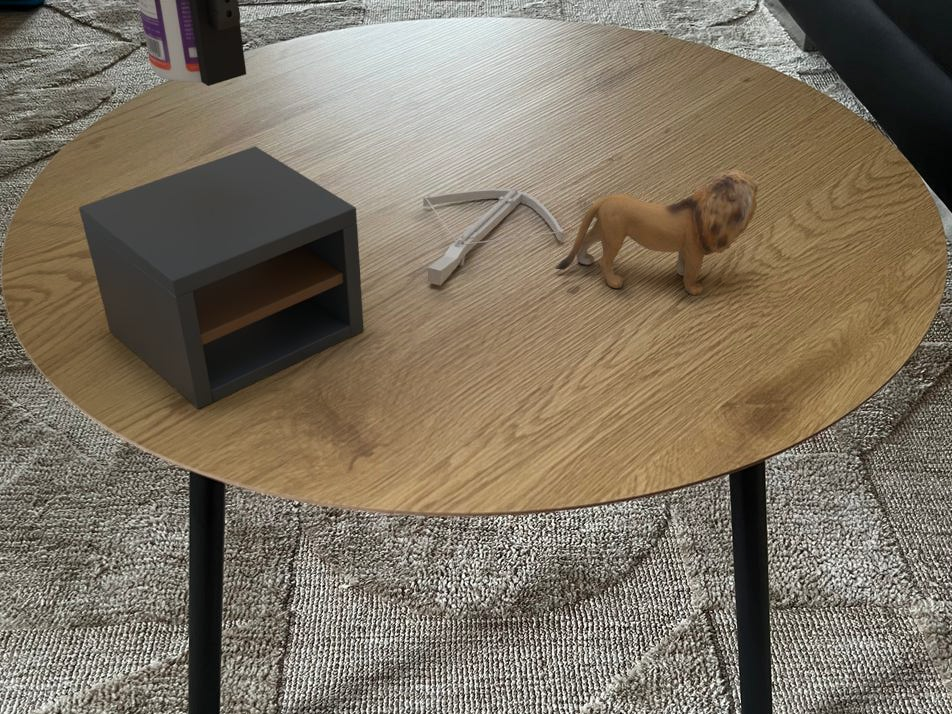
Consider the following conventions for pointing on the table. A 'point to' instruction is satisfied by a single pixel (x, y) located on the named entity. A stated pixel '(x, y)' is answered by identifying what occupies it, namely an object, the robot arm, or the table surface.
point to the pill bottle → (170, 39)
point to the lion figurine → (670, 226)
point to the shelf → (226, 272)
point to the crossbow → (481, 225)
